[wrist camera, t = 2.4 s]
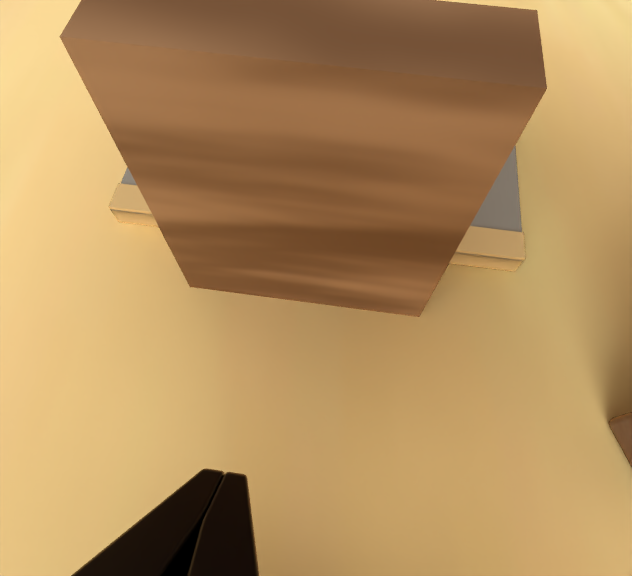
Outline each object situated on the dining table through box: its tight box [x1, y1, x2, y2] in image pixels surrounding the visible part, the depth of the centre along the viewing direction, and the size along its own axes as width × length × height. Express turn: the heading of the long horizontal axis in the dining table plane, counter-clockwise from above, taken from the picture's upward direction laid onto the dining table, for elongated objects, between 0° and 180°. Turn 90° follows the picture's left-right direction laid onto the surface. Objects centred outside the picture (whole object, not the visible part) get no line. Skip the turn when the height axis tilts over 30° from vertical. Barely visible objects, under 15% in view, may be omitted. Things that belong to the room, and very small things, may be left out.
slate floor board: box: [109, 146, 526, 272], centre depth 28 cm, size 18×22×1 cm
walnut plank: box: [60, 0, 547, 317], centre depth 18 cm, size 3×12×14 cm, turn 82°
